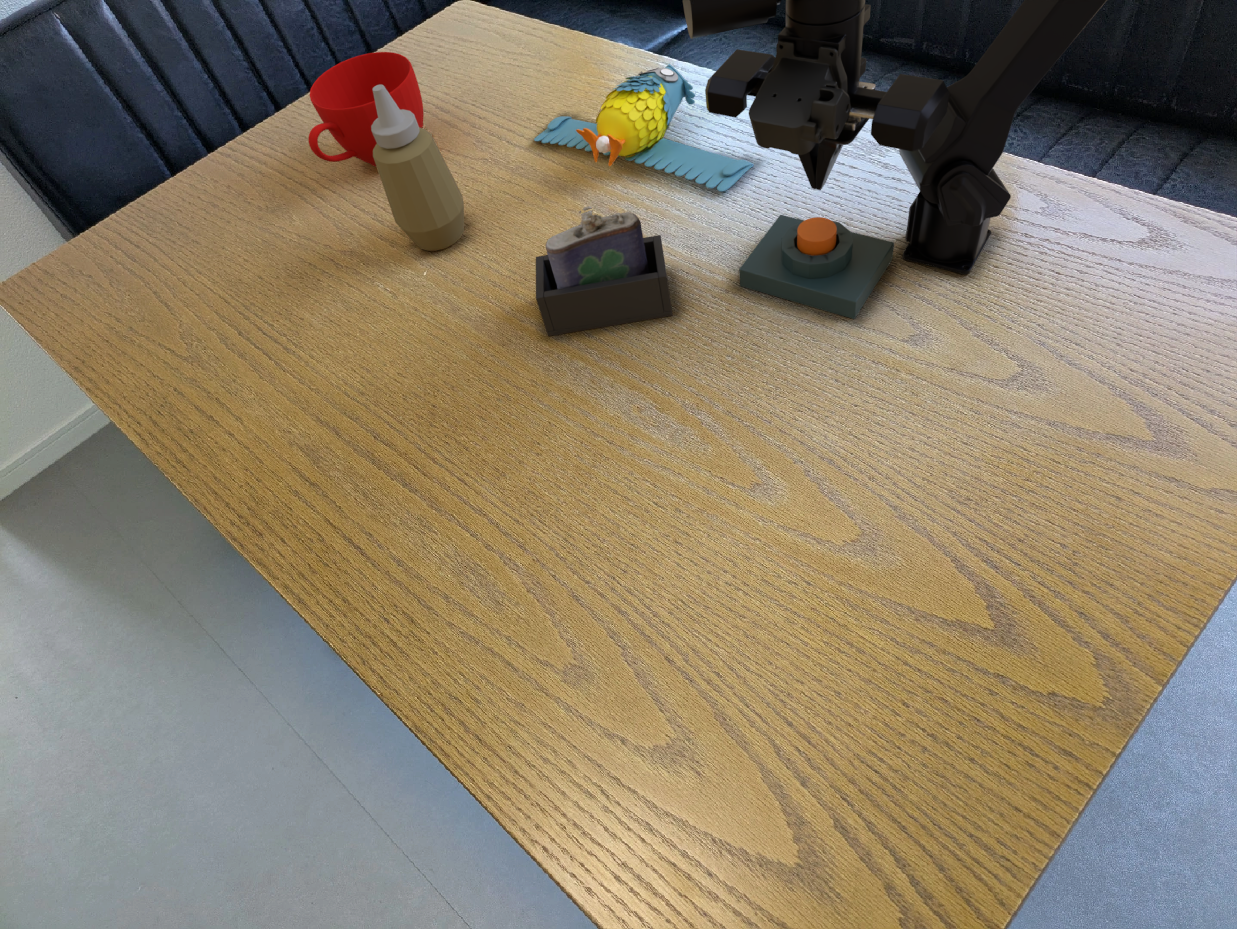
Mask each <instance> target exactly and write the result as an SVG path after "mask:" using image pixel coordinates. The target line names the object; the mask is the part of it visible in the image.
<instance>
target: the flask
mask: <svg viewBox="0 0 1237 929" xmlns="http://www.w3.org/2000/svg"><path fill="white" fill-rule="evenodd" d="M592 208H593V207H592V206H591V205H589V206H584V207H583V208H582V209H581V210H578V214H581V215H580V217H581V220H580V222H579V224H578V225H576V226H573V227H569V228H568V229H566V230H564V231H561V232H559V233H557V234H554V235H552V236H551V237H549V238H548V239H547V241H546V242H545V250H546V255H548V257H549V261H550V264H551V267H552V271H553V274H554V277H555V281H556V284H557V288H558V289H563V288H568V287H574V286H580V285H586V284H592V283H597V282H603V281H609V280H615V279H621V278H627V277H632V276H638V275H644V274H650V273H649V268H648V261H647V258H646V252H645V246H644V240H643V238H644V235H643V234H644V233H643V230H642V221H641V220H640V218H639V217H638V215H637V214H636V213H634V212H630V211H625V212H616V213H613V214H611V215H606V216H602V215H598V214H593V211H594V210H593V209H592ZM582 211H584V212H582Z"/></svg>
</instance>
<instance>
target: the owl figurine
mask: <svg viewBox="0 0 1237 929" xmlns="http://www.w3.org/2000/svg"><path fill="white" fill-rule="evenodd" d="M693 89H694V87H693V86H692V85H691V83H689V82H688V81H687V79H685V77H683V75H682V74H681V73H680V72H679V71H678V70H677V69H676V68H675V67H674V66H673V65H671V64H670V63H668V64H667V65H666V66H665V67H653V68H650V69H647V70H646V71H644V72H643V71H642V70H641V71H640V72H639V73H638V75H633V76H628V77H626V78H625V80H623V82H619V84H617V85H615V87H613V89H612V90H611V92H609V93H607V95H606V96H605V100H604V101H603V103H602V105H601V106H600V109H599V111H598V112H597V113H596V114H597V115H596V118H595V122H589V121H584V120H580V119H579V120H578V119H575V118H573V117H572V116H567V115H565V116H564V115H562V116H557V117H554V118H553V119H552V120H551V121H550V122H549V123H548V124H547V128H546V129H544V130H543V131H542V132H540V133H539V134H538V135H537V136H535V137H534V138H533V140H534V142H537V143H538V142H541V144H548V143H549V144H550V145H555V144H558V146H565V145H566V147H567V148H574V147H575V149H577V150H582V149H584V151H585V152H592V155H593V160H594V163H597V162H598V160H599V155H600V153H602V154H603V155H604V156H609V159H608V163H607V164H608V167H611V166H613V164H614V162H615V161H616V160H617V158H619V157H622V158H624V160H625V161H627V162H631V161H634V163H635V165H636V164H637V165H642V164H643V163H644V166H645V167H647V168H651V167H653V169H654V170H656V171H661V170H664V172H665V174H672V173H674V176H675V177H683V176H684V179H685V180H687V181H692V180H694V179H695V181H694V183H695V184H698V185H704V184H705V187H706V188H707V189H714V188H716V190H717V191H718V192H726V191H727V190H729V189H730V188H732V187H733V186H734V185H735V184H736V183H737V182H738V181H739V180H740V179H741V178H742V176H744V174H745V173H747V171H748V172H749V170H750V169H751V168H752V167H754V165H755V164H754V163H753V162H751V161H749V160H746V159H744V158H743V159H742V158H741V159H736V158H732V157H730V156H725V155H721V154H719V153H715V152H711V151H709V150H705V149H702V148H697V147H694V146H691V145H688V144H685V143H682V142H677V141H675V140H671V139H668V138H664V137H665V135H666V132H667V130H669V128H670V124H671V122H672V120H673V118H674V116H675V115H676V112H677V111H678V109H679V107H680V105H681V103H682V101H683V99H684V100H685V101H686V103H687V104H688V105H694V104H696V101H695V100H694V98H695V97H696V93H694V92H693V91H692V90H693Z"/></svg>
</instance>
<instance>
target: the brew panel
mask: <svg viewBox="0 0 1237 929" xmlns="http://www.w3.org/2000/svg"><path fill="white" fill-rule="evenodd" d="M805 220H806V219H805ZM805 220H804V219H801V218H796V217H792V216H788V215H784V214H779V216H778V217H777V218H776V220H775V221H774V222H773V224H772V225H771V226H770V228H769V229H768V231H767V232H766V233H765V234H764V236H763V237H762V238H761V240H760V241H759V242H758V244H757V245H756V246H755V248H754V249H753V250H752V251H751V252H750V254H749V256H748V257H747V258H746V260H745V261H744V262H743V263H742V264H741V266H740V267H739V268H738V274H739V276H738V277H739V286H740V287H741V288H744V289H745V288H746V289H749V290H751V291H752V290H753V291H756V292H758V293H759V292H760V293H763V294H766V295H769V296H774V297H776V298H780V299H783V300H785V301H791V302H794V303H798V304H801V305H803V306H807V307H811V308H814V309H817V310H821V311H823V312H824V311H825V312H827V313H831V314H835V315H838V316H842V317H845V318H849V319H852V320H856V318H857V316H858V314H859V313H860V311H861V310H862V308H863V306H864V305H865V304H866V302H867V300H868V299H869V297H870V295H871V294H872V292H873V291H874V289H875V287H876V286H877V284H878V283H879V281H880V280H881V278H882V277H883V275H884V273H885V272H886V271H887V269H888V267H889V266H890V263H891V262H892V261H893V256H894V248H895V242H894V241H891V240H887V239H882V238H880V237H874V236H870V235H866V234H862V233H858V232H854V231H850V230H849V228H847V227H845V226H844V225H843V224H842V223H841V222H839V221H835V220H832V221H833V222H834V223H835V225H836V227H837V235H836V246H835V248H834V249H833V250H832V251H831V252H829V253H827V254H825V255H815V256H811V255H807V254H804V253H802V252H800V250H799V249H798V247H797V229H798V226H799V225H800V224H801V223H802V222H803V221H805Z"/></svg>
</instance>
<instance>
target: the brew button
mask: <svg viewBox="0 0 1237 929" xmlns="http://www.w3.org/2000/svg"><path fill="white" fill-rule="evenodd" d="M833 221H834V220H831V219H829V218H827V217H821V216H815V217H810V218H807V219H805V221H803V222H802V223H801V224H800V225H799V226H798V229H797V247H798V249H799V250H800V252H802V253H804V254H807V255H811V256H815V255H825V254H827V253H829V252H831V251H832V250H833V249H834V248H835V246H836V235H837V227H836V225H835V223H834V222H833Z"/></svg>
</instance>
